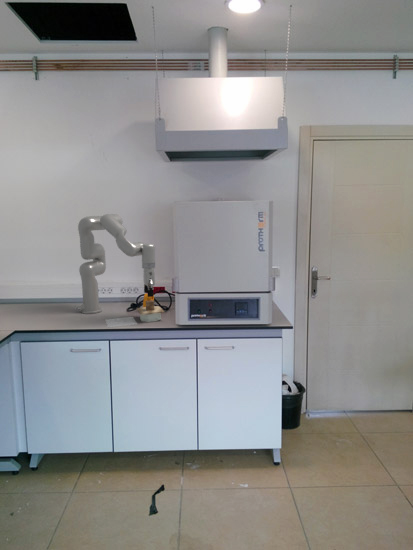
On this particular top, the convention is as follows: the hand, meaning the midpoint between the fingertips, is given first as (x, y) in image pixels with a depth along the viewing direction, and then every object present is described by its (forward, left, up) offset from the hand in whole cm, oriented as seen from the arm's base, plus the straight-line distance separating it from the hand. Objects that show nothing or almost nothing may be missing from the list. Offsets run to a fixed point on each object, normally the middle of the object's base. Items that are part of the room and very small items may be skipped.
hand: (148, 294), depth 222 cm
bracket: (+5, +15, -15) cm, 22 cm away
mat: (-16, -1, -15) cm, 22 cm away
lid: (+1, -1, -10) cm, 10 cm away
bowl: (+1, -1, -15) cm, 15 cm away
